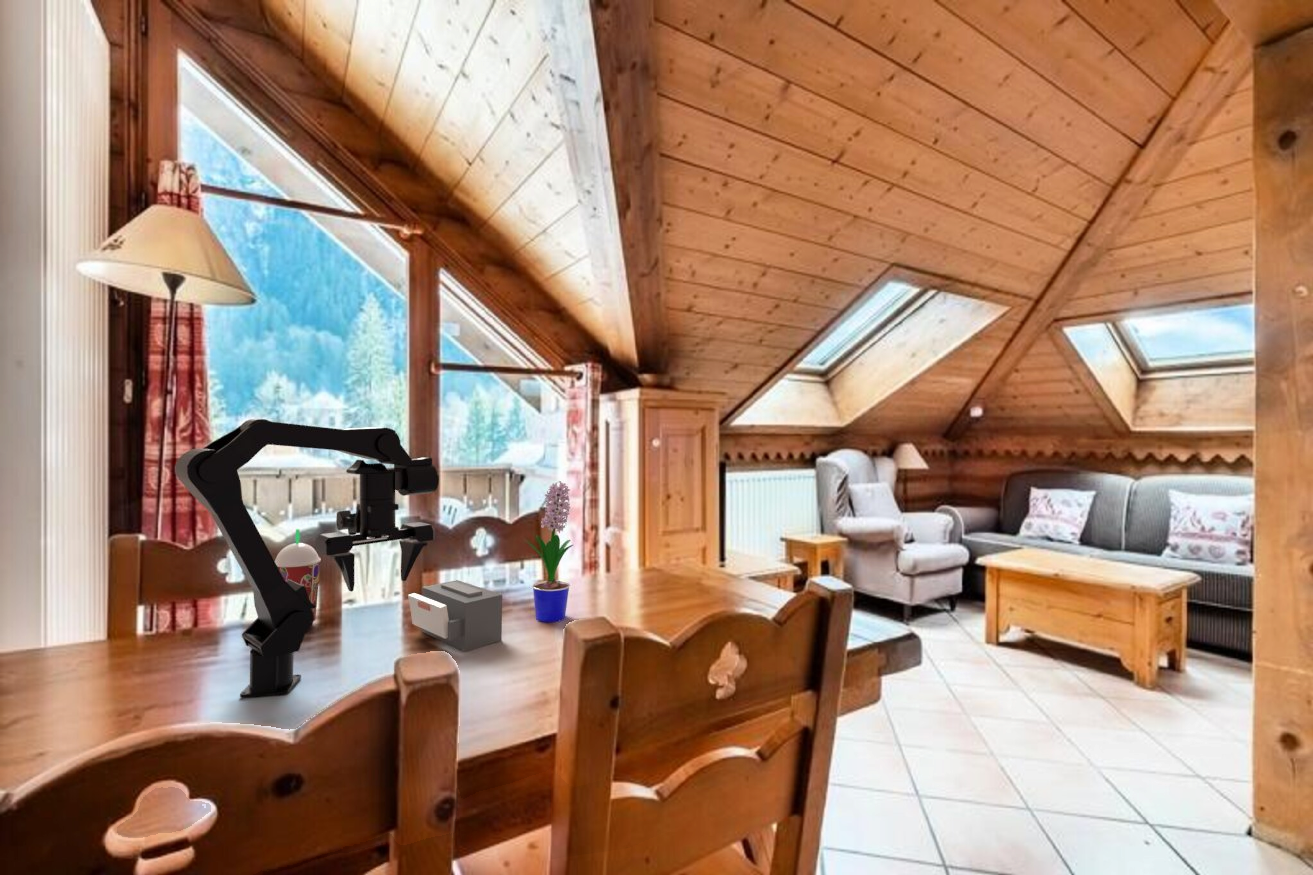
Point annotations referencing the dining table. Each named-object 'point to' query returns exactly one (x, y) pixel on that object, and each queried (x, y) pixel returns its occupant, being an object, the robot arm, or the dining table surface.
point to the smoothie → (301, 567)
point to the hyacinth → (552, 558)
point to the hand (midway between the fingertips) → (378, 585)
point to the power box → (468, 614)
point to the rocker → (429, 614)
